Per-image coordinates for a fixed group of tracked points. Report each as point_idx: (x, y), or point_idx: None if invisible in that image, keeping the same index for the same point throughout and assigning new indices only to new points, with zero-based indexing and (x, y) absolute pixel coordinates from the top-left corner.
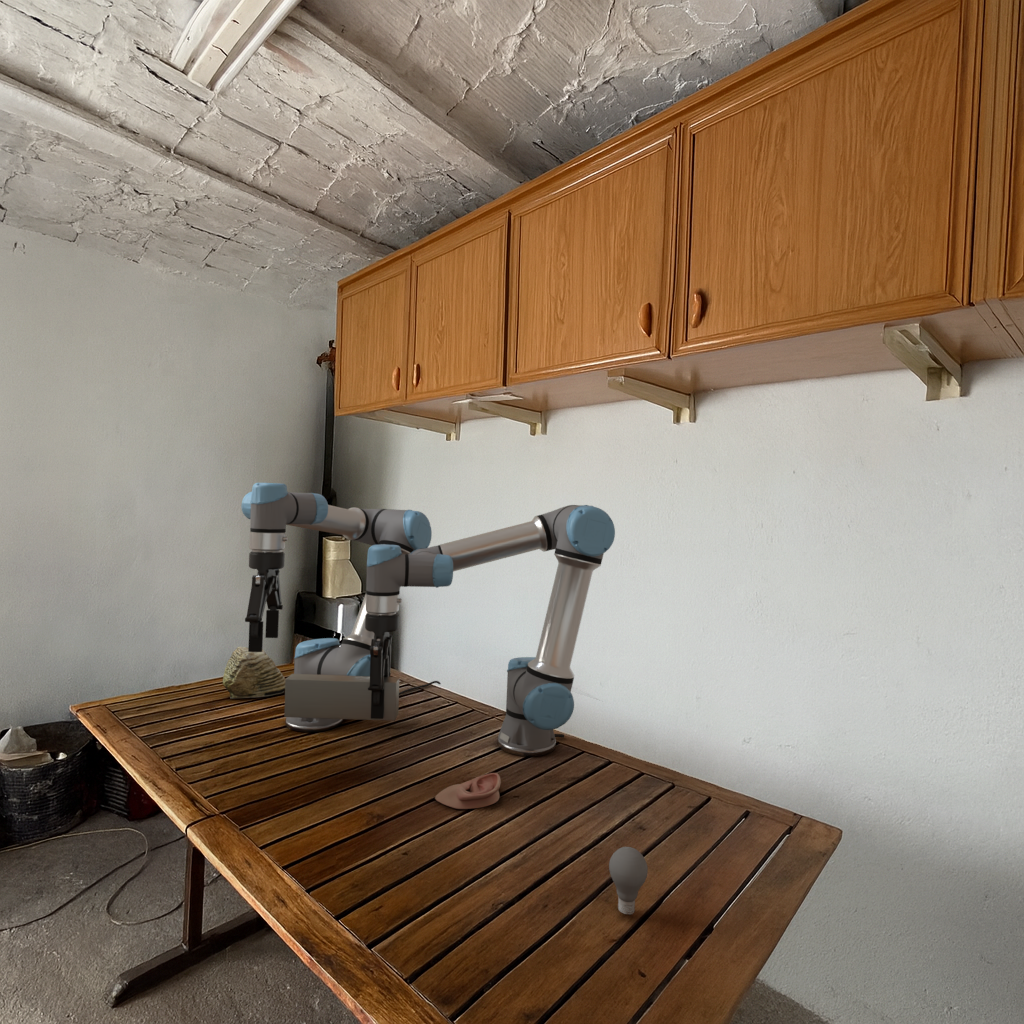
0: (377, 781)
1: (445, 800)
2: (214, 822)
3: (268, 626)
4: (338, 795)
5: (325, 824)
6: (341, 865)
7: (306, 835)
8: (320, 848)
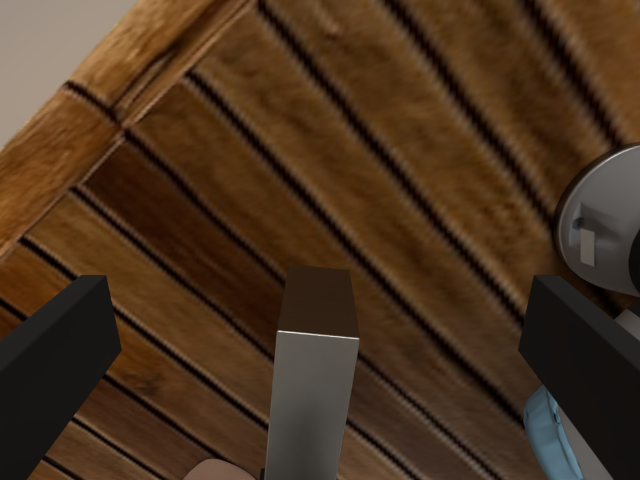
0: None
1: (196, 473)
2: (87, 131)
3: (581, 347)
4: (218, 324)
5: None
6: None
7: None
8: None
